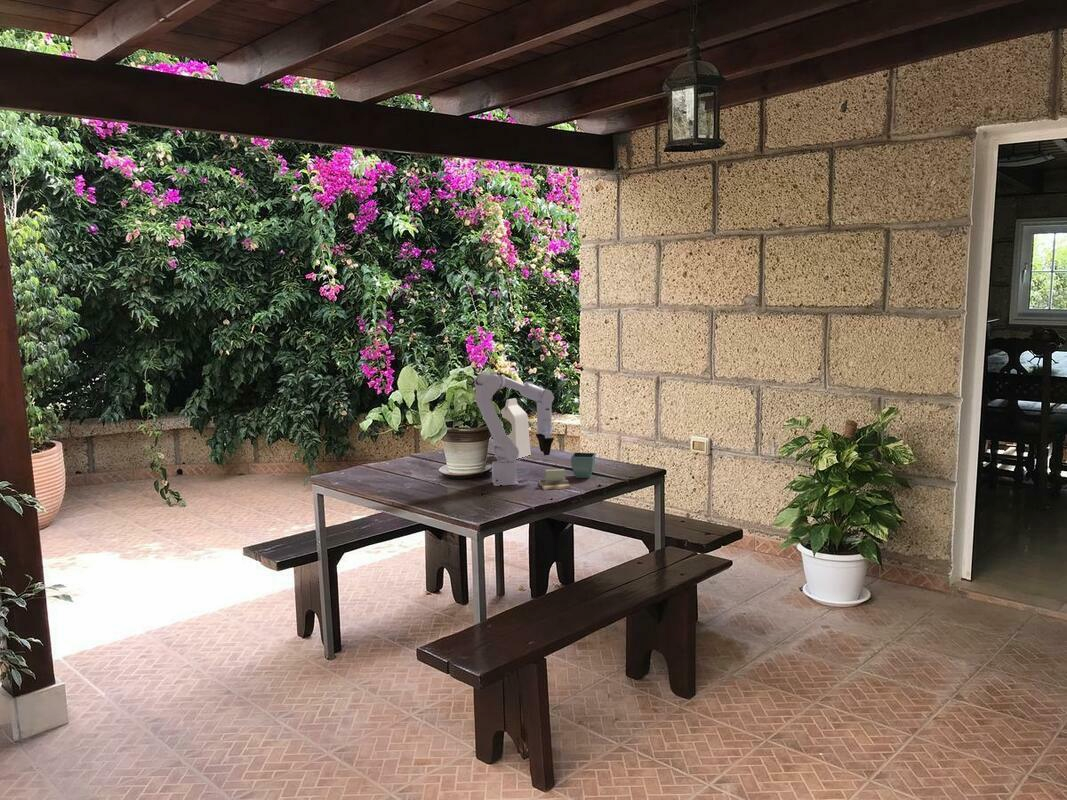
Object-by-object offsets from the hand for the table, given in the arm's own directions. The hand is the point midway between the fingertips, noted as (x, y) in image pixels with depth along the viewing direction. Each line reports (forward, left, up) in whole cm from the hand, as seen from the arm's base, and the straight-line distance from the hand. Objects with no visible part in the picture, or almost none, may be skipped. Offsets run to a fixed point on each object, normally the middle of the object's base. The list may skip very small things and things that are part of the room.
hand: (545, 453), depth 341 cm
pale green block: (+2, -14, -9) cm, 17 cm away
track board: (+1, -14, -10) cm, 17 cm away
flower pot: (+15, -2, -10) cm, 18 cm away
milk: (-7, +46, -10) cm, 48 cm away
